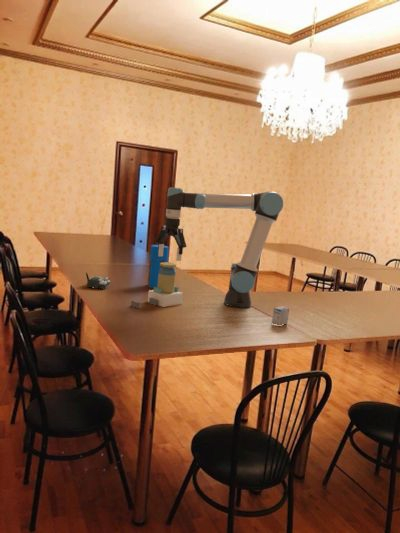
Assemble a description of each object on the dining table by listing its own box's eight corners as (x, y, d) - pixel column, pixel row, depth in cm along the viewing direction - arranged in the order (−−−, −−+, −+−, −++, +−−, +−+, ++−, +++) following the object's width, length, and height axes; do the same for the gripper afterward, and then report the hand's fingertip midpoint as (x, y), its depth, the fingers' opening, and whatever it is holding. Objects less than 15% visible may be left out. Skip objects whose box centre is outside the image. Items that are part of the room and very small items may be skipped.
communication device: (114, 283, 282) (115, 269, 281) (105, 290, 258) (106, 275, 257) (95, 280, 282) (96, 266, 281) (84, 288, 258) (85, 272, 257)
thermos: (145, 284, 285) (148, 244, 281) (161, 284, 289) (165, 245, 285) (151, 288, 275) (154, 247, 271) (167, 288, 279) (171, 247, 275)
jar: (158, 293, 237) (161, 265, 235) (155, 289, 246) (157, 261, 244) (176, 294, 240) (178, 265, 238) (171, 289, 249) (174, 262, 246)
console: (182, 303, 245) (183, 288, 244) (142, 310, 224) (143, 293, 223) (166, 298, 253) (168, 283, 252) (126, 304, 232) (127, 288, 231)
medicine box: (279, 322, 228) (281, 305, 227) (287, 324, 226) (289, 307, 224) (271, 325, 222) (273, 307, 221) (279, 327, 220) (281, 310, 218)
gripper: (151, 215, 242) (148, 254, 246) (185, 220, 226) (181, 262, 229) (161, 215, 248) (158, 254, 251) (195, 220, 231) (191, 262, 235)
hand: (169, 258), depth 240 cm, fingers open, 13 cm apart
